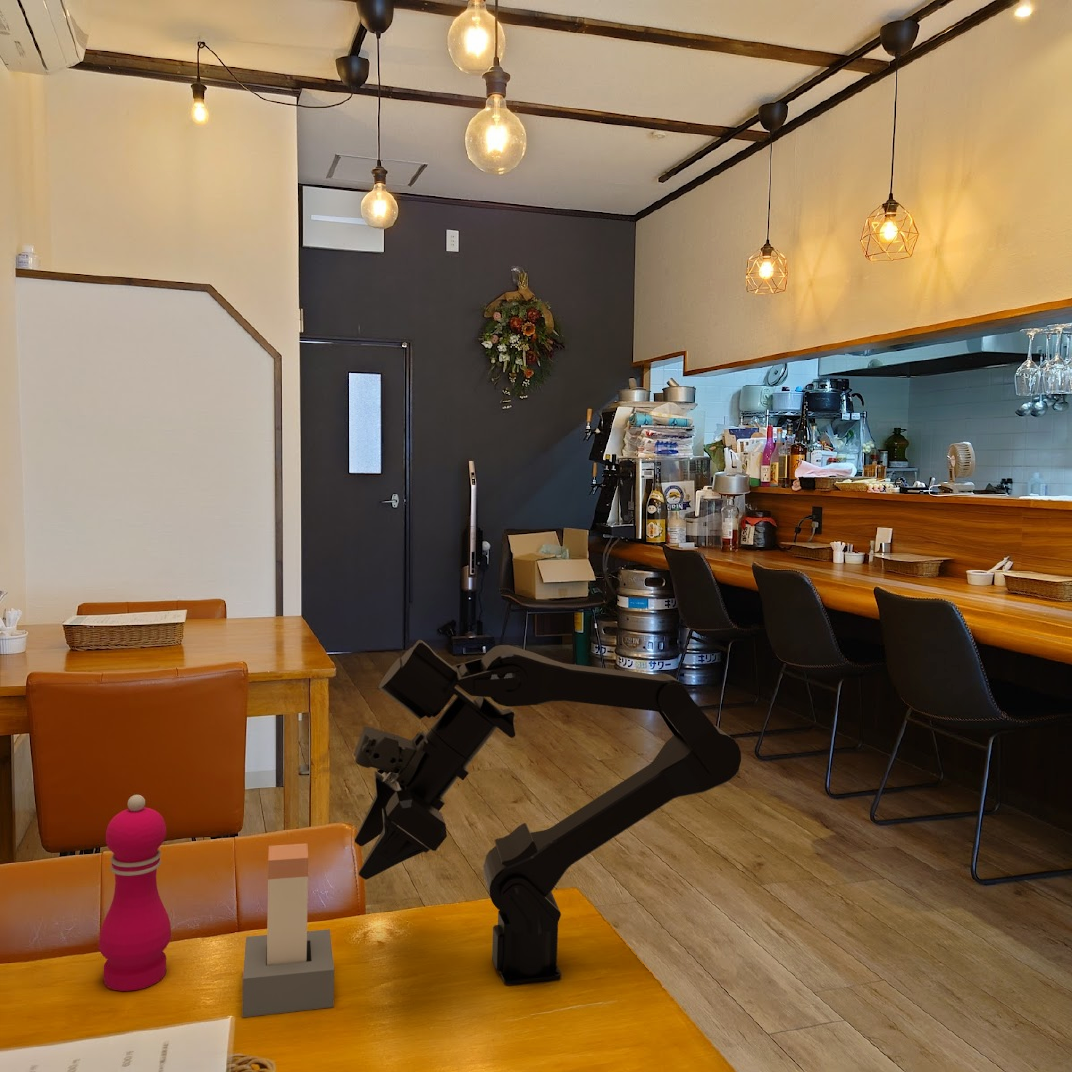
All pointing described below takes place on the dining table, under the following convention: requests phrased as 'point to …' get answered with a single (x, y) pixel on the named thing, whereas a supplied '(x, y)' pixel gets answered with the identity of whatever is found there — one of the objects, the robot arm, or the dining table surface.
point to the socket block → (288, 978)
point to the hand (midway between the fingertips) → (359, 859)
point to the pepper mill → (135, 901)
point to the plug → (287, 904)
